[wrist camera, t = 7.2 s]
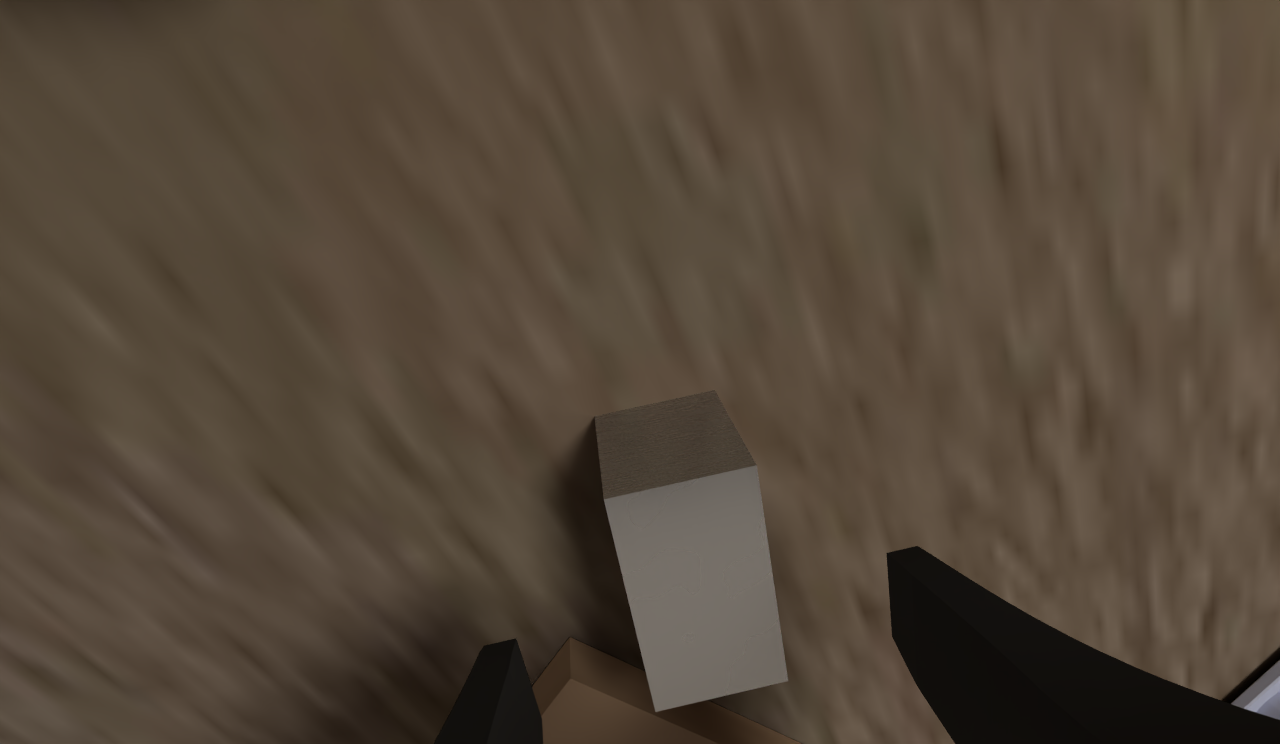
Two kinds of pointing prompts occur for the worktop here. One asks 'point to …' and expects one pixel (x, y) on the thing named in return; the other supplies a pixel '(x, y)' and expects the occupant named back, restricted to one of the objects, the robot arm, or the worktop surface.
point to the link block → (691, 549)
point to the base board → (628, 707)
